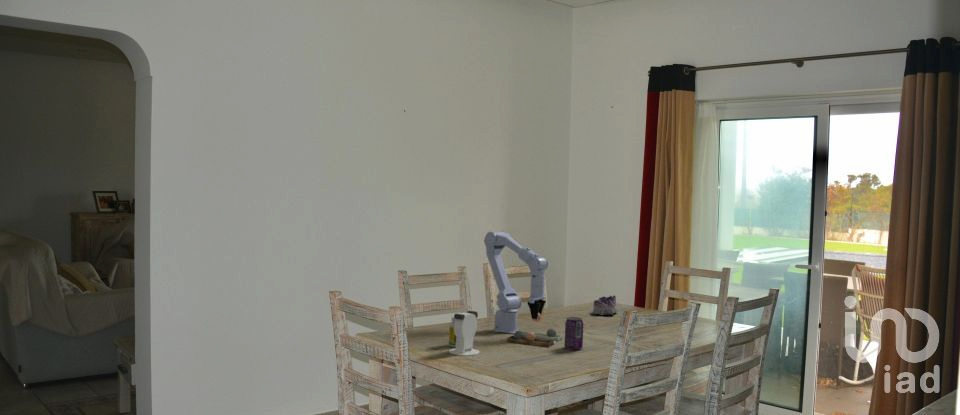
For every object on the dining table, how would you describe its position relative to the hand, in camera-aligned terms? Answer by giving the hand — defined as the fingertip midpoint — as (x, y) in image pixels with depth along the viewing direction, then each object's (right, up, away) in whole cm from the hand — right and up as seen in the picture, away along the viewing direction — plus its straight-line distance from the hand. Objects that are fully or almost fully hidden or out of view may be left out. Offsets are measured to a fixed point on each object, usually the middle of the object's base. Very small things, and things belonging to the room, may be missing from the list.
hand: (536, 318), depth 319 cm
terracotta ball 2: (0, 0, 0) cm, 1 cm away
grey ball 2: (+6, -6, -3) cm, 9 cm away
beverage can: (+13, -10, -19) cm, 25 cm away
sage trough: (0, -8, -3) cm, 9 cm away
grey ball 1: (-8, -6, -10) cm, 14 cm away
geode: (+40, -8, +67) cm, 78 cm away
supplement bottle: (-33, -8, -22) cm, 40 cm away
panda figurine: (-29, -8, -32) cm, 44 cm away
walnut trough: (-3, -8, -12) cm, 15 cm away
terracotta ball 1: (-3, -6, -12) cm, 13 cm away
